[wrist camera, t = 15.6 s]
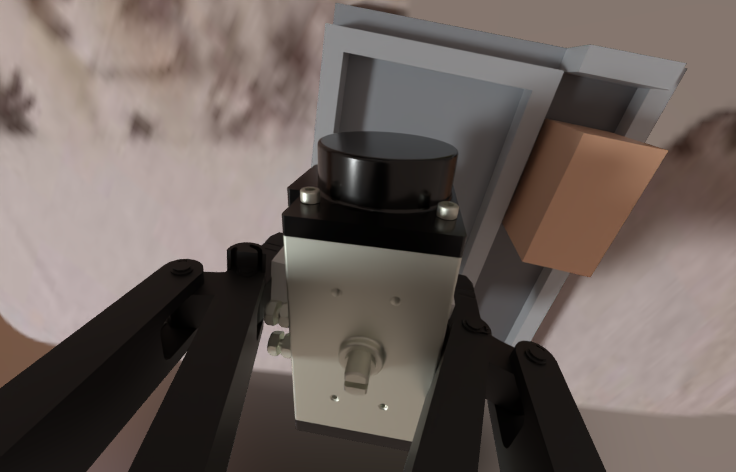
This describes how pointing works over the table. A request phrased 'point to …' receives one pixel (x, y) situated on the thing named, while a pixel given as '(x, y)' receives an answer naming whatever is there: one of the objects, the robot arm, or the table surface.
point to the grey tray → (484, 124)
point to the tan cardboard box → (577, 195)
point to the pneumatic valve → (368, 283)
